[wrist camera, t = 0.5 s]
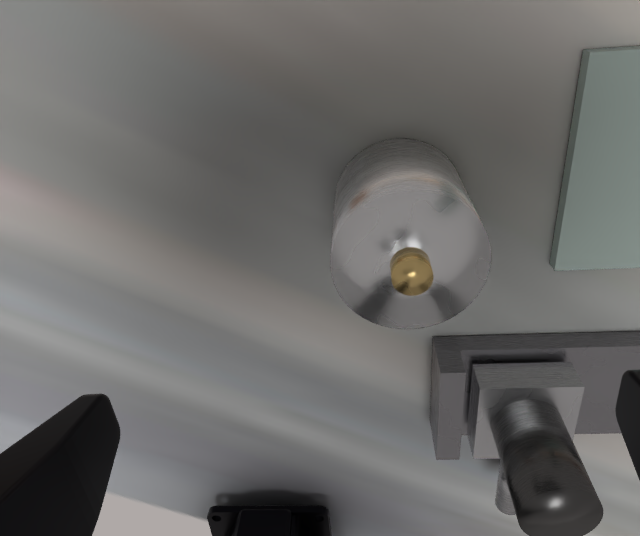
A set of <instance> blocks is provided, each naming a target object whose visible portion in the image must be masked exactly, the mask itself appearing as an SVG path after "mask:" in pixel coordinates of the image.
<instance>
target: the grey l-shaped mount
mask: <svg viewBox="0 0 640 536" xmlns="http://www.w3.org/2000/svg"><path fill="white" fill-rule="evenodd" d="M550 265H551V266H552V268H553V269H554V271H564V270H591V269H619V268H640V46H627V47H613V48H599V49H584V50H583V54H582V60H581V66H580V73H579V79H578V85H577V92H576V98H575V104H574V111H573V117H572V124H571V130H570V136H569V143H568V149H567V155H566V162H565V168H564V174H563V181H562V187H561V194H560V200H559V206H558V213H557V219H556V225H555V232H554V238H553V244H552V251H551V257H550Z"/></svg>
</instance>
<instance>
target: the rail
mask: <svg viewBox="0 0 640 536" xmlns="http://www.w3.org/2000/svg"><path fill="white" fill-rule="evenodd" d="M547 362H571V363H572V364H573V366H574V368H575V370H576V372H577V374H578V375H579V377H580V379H581V381H582V383H583V385H584V386H585V388H584V393H583V397H582V401H581V406H580V410H579V415H578V419H577V424H576V428H575V433H574V434H600V433H621V430H620V427H619V425H618V422H617V418H616V412H615V408H616V402H617V397H618V393H619V388H620V383H621V379H622V376H623V374H624V372H626V371H627V370H637V369H640V331H628V332H591V333H554V334H517V335H480V336H443V337H433V345H432V372H431V400H430V424H431V430H432V436H433V442H434V448H435V454H436V460H450V459H459V456H460V443H461V435H467V425H468V413H469V401H470V389H471V378H472V366H473V364H503V363H547Z"/></svg>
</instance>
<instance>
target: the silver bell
mask: <svg viewBox="0 0 640 536" xmlns="http://www.w3.org/2000/svg"><path fill="white" fill-rule="evenodd" d="M490 266H491V246H490V241H489V238H488V234H487V232H486V230H485V228H484V226H483V224H482V222H481V220H480V218H479V216H478V214H477V212H476V210H475V208H474V206H473V204H472V202H471V199H470V197H469V195H468V193H467V191H466V189H465V187H464V185H463V183H462V181H461V179H460V177H459V175H458V173H457V171H456V169H455V167H454V165H453V164H452V163H451V161H450V160H449V159H448V158H447V157H446V156H445V155H444V154H443V153H442V152H441V151H440V150H438V149H437V148H435V147H433V146H432V145H429V144H427V143H425V142H422V141H418V140H414V139H407V138H397V139H389V140H385V141H381V142H378V143H376V144H373V145H371V146H369V147H367V148H366V149H364V150H363V151H361V152H360V153H358V154H357V155H356V156H355V157H354V158H353V159H352V160H351V161H350V162H349V163H348V165H347V166H346V167H345V169H344V171H343V172H342V174H341V176H340V178H339V181H338V184H337V188H336V194H335V205H334V219H333V233H332V246H331V274H332V279H333V282H334V285H335V287H336V289H337V291H338V293H339V295H340V296H341V298H342V299H343V301H344V302H345V303H346V304H347V305H348V306H349V307H350V308H351V309H352V310H353V311H354V312H355V313H357V314H358V315H360V316H361V317H363V318H365V319H367V320H369V321H371V322H373V323H376V324H378V325H381V326H385V327H389V328H397V329H417V328H423V327H429V326H432V325H436V324H439V323H441V322H443V321H446V320H448V319H450V318H452V317H453V316H455V315H457V314H458V313H460V312H461V311H462V310H464V309H465V308H466V307H467V306H468V305H469V304H471V303H472V301H473V300H474V299H475V298H476V297H477V296H478V294H479V293H480V291H481V290H482V288H483V286H484V284H485V282H486V280H487V277H488V274H489V271H490Z"/></svg>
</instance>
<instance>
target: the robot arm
mask: <svg viewBox="0 0 640 536" xmlns="http://www.w3.org/2000/svg"><path fill="white" fill-rule="evenodd" d="M615 412H616V418H617V422H618V425H619V427H620V430H621V433H622V435H623V438H624V441H625V443H626V446H627V448H628V451H629V454H630V456H631V459H632V462H633V464H634V467H635V470H636V472H637V475H638V477H639V480H640V369H637V370H627V371H626V372H624V374H623V376H622V379H621V383H620V388H619V393H618V397H617V402H616V408H615ZM119 440H120V427H119V424H118V421H117V418H116V416H115V413H114V410H113V407H112V405H111V402H110V400H109V398H108V397H107V396H106V395H104V394H87V395H83V396H81V397H79V398H78V399H76V400H75V401H73V402H72V403H71V404H69V405H68V406H66V407H65V408H64V409H62V410H61V411H59V412H58V413H57V414H55V415H54V416H52V417H51V418H50V419H48V420H47V421H45V422H44V423H43V424H41V425H40V426H38V427H37V428H36V429H34V430H33V431H32V432H30V433H29V434H27V435H26V436H25V437H23V438H22V439H20V440H19V441H18V442H16V443H15V444H13V445H12V446H11V447H9V448H8V449H6V450H5V451H4V452H2V453H1V454H0V536H92V534H93V531H94V528H95V525H96V522H97V520H98V517H99V514H100V510H101V507H102V503H103V499H104V496H105V492H106V489H107V485H108V481H109V478H110V474H111V470H112V466H113V463H114V459H115V455H116V452H117V448H118V444H119ZM207 519H208V522H209V526H210V529H211V533H212V536H331V528H330V518H329V511H328V509H327V508H326V507H323V506H213V507H211V508H210V509H209V512H208V517H207Z"/></svg>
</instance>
